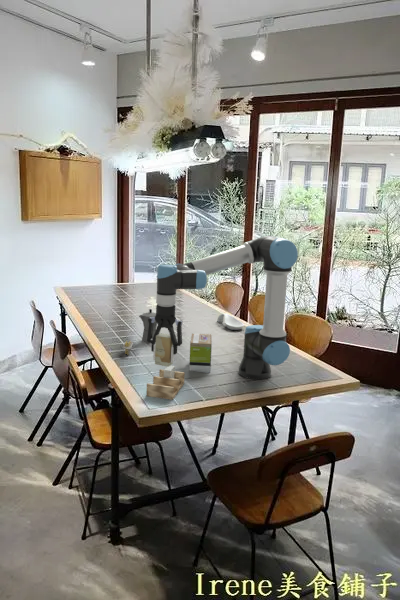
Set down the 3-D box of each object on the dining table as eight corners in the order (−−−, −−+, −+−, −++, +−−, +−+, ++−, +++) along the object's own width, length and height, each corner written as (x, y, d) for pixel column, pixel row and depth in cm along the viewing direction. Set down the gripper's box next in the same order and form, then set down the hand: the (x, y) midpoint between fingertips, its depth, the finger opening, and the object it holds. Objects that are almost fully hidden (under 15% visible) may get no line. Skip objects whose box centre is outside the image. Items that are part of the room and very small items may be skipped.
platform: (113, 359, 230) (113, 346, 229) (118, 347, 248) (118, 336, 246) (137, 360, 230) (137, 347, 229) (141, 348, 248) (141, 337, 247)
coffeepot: (141, 344, 254) (142, 312, 250) (135, 339, 262) (136, 308, 258) (167, 341, 261) (168, 310, 257) (161, 336, 269) (162, 306, 265)
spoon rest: (247, 330, 290) (248, 319, 289) (231, 332, 285) (231, 321, 283) (227, 321, 310) (227, 310, 309) (211, 322, 305) (212, 312, 303)
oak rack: (184, 385, 202) (184, 372, 201) (172, 402, 186) (173, 387, 184) (159, 382, 204) (160, 369, 203) (146, 398, 188) (146, 384, 187)
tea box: (190, 361, 232) (191, 332, 229) (210, 362, 232) (212, 333, 229) (188, 372, 217) (190, 342, 214) (210, 373, 217) (212, 343, 214)
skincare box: (154, 364, 187) (154, 335, 185) (159, 361, 191) (159, 332, 189) (169, 367, 185) (169, 337, 183) (173, 363, 189) (174, 334, 187)
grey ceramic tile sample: (174, 383, 201) (174, 365, 200) (170, 388, 196) (170, 370, 194) (167, 382, 202) (168, 365, 200) (163, 387, 196) (163, 369, 194)
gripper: (192, 304, 184) (189, 360, 189) (145, 300, 188) (144, 354, 193) (187, 309, 177) (185, 366, 182) (138, 303, 181) (137, 360, 186)
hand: (163, 360), depth 188 cm, fingers closed on skincare box, 6 cm apart
